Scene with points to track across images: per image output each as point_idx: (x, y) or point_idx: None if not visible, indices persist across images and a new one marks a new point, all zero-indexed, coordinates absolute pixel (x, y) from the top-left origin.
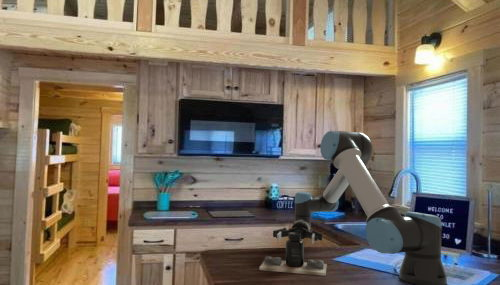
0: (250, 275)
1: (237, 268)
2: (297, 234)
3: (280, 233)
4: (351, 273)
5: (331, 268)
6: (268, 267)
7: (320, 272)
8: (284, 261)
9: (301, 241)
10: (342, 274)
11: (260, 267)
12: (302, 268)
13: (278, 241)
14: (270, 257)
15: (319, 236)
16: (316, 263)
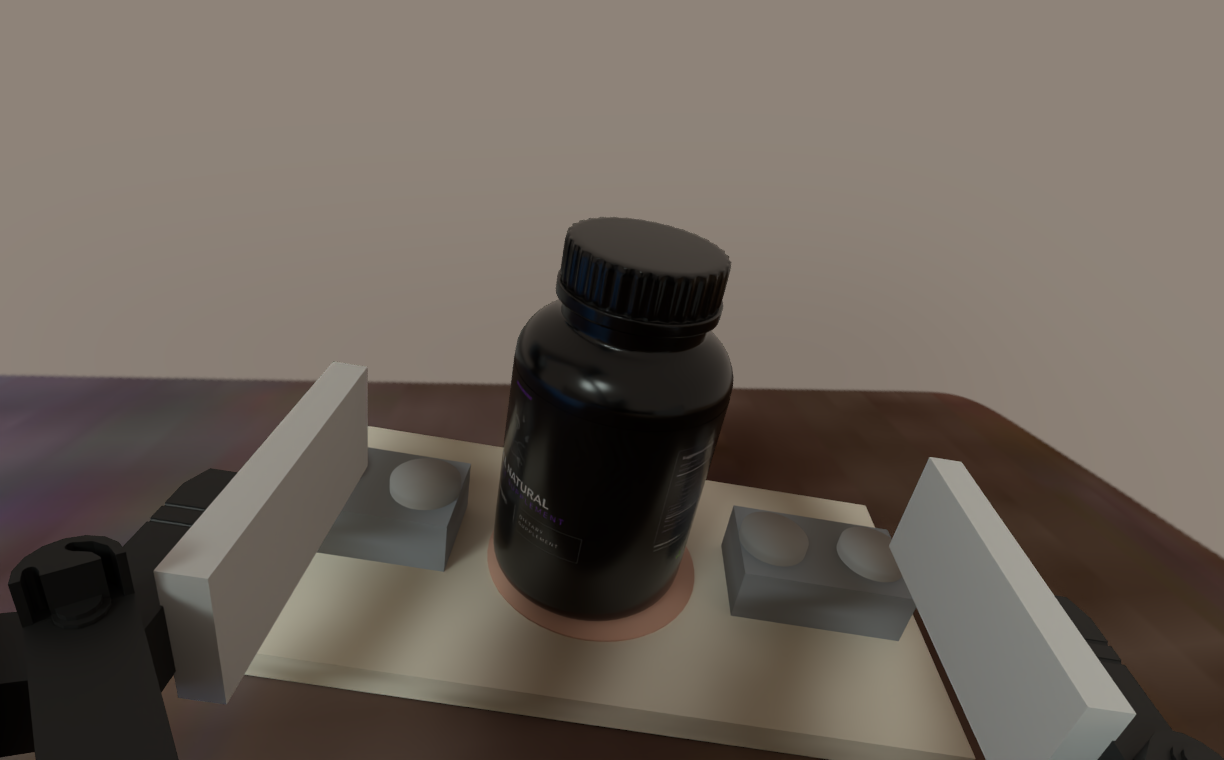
0: (852, 441)
1: (1028, 545)
2: (610, 217)
3: (1003, 592)
4: (19, 485)
5: None
6: (797, 504)
7: (370, 426)
8: (716, 683)
9: (549, 305)
10: (146, 464)
11: (856, 505)
12: None
13: (896, 546)
14: (847, 539)
15: (5, 631)
16: (376, 450)
